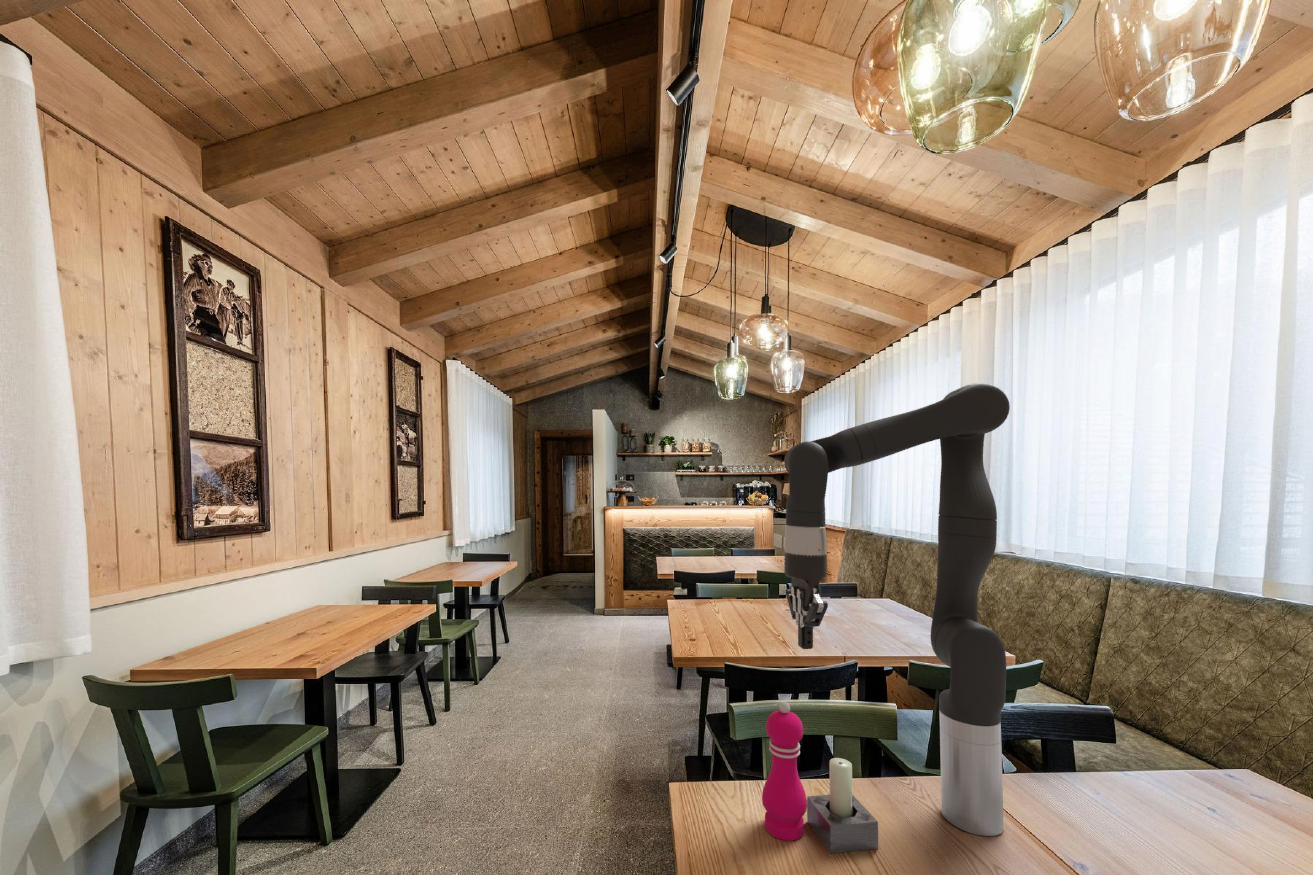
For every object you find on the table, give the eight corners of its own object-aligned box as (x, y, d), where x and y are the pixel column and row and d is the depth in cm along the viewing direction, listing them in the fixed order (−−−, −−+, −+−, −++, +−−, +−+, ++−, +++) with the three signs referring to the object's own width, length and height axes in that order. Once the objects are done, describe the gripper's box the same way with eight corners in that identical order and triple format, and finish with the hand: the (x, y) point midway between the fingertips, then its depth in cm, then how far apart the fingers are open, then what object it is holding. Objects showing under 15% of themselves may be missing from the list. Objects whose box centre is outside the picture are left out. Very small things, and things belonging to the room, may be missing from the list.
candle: (835, 818, 90) (835, 755, 91) (856, 827, 88) (855, 762, 89) (825, 827, 88) (825, 762, 89) (846, 837, 85) (846, 770, 86)
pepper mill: (808, 846, 85) (808, 713, 86) (761, 839, 86) (762, 708, 88) (805, 818, 92) (805, 696, 93) (761, 812, 93) (762, 692, 95)
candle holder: (851, 817, 92) (851, 792, 93) (878, 848, 84) (877, 821, 85) (807, 821, 91) (807, 796, 91) (830, 853, 83) (830, 825, 83)
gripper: (842, 555, 94) (843, 658, 92) (808, 546, 107) (808, 637, 105) (802, 555, 92) (801, 660, 91) (772, 546, 105) (771, 638, 104)
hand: (805, 647), depth 98 cm, fingers closed
